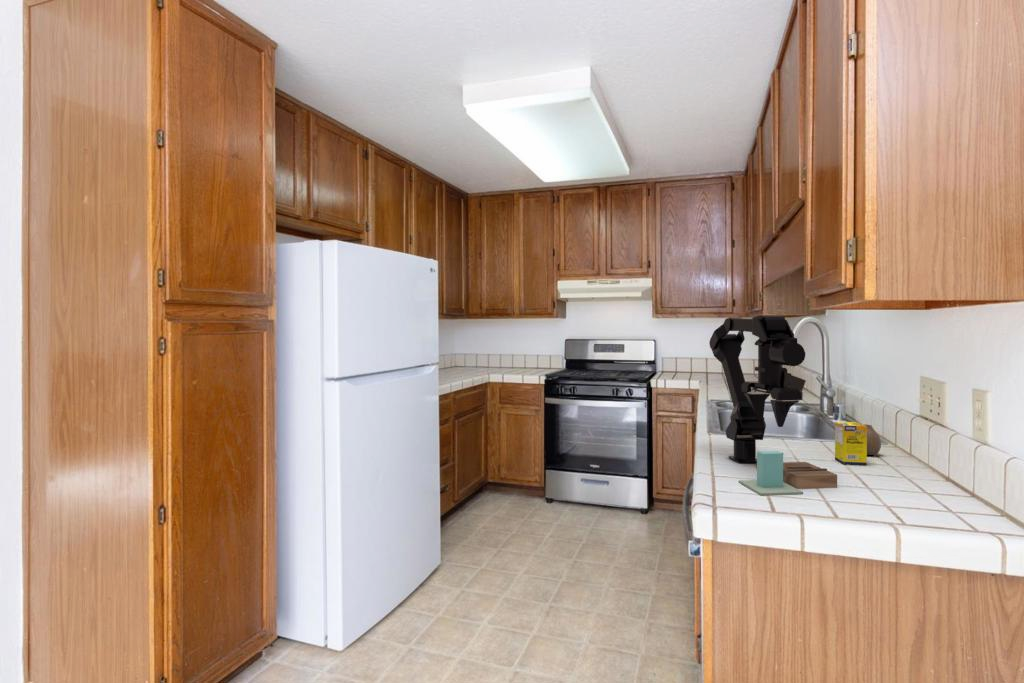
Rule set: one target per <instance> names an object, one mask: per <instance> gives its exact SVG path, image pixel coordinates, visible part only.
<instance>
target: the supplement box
mask: <svg viewBox="0 0 1024 683" xmlns="http://www.w3.org/2000/svg"><path fill="white" fill-rule="evenodd" d="M834 436H835V437H834V460H835V461H837V462H838V463H840V464H842V465H846V464H855V465H854V466H867V465H868V464H867V463H868V460H867V459H868V456H867V426H865V425H863V423H860V422H858V421H857V422H855V421H835V422H834Z"/></svg>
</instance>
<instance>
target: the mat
mask: <svg viewBox="0 0 1024 683" xmlns="http://www.w3.org/2000/svg"><path fill="white" fill-rule="evenodd" d="M738 483H739V484H740V483H741V485H742V484H743V485H742V486H744V487H745V486H746V488H747V487H748V489H749V490H751V491H752V490H753V491H752V492H754V493H756V494H757V493H758V495H759V496H783V495H784V496H787V495H803V494H804V491H803V490H800V489H796V488H794V487H792V486H790V485H788V484H786V483H784V482H783V487H773V488H762V487H760V486H758V485H757V479H748V480H747V479H746V480H745V479H744V480H741V479H740V480H738Z"/></svg>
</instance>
